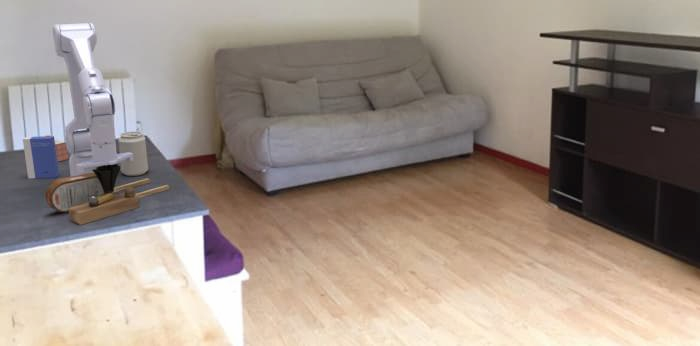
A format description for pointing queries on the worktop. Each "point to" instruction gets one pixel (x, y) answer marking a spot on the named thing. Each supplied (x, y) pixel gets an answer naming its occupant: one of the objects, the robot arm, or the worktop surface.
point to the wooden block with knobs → (105, 207)
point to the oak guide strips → (142, 184)
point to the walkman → (41, 157)
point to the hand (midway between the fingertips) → (108, 193)
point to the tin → (72, 191)
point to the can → (134, 153)
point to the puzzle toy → (61, 150)
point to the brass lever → (100, 198)
